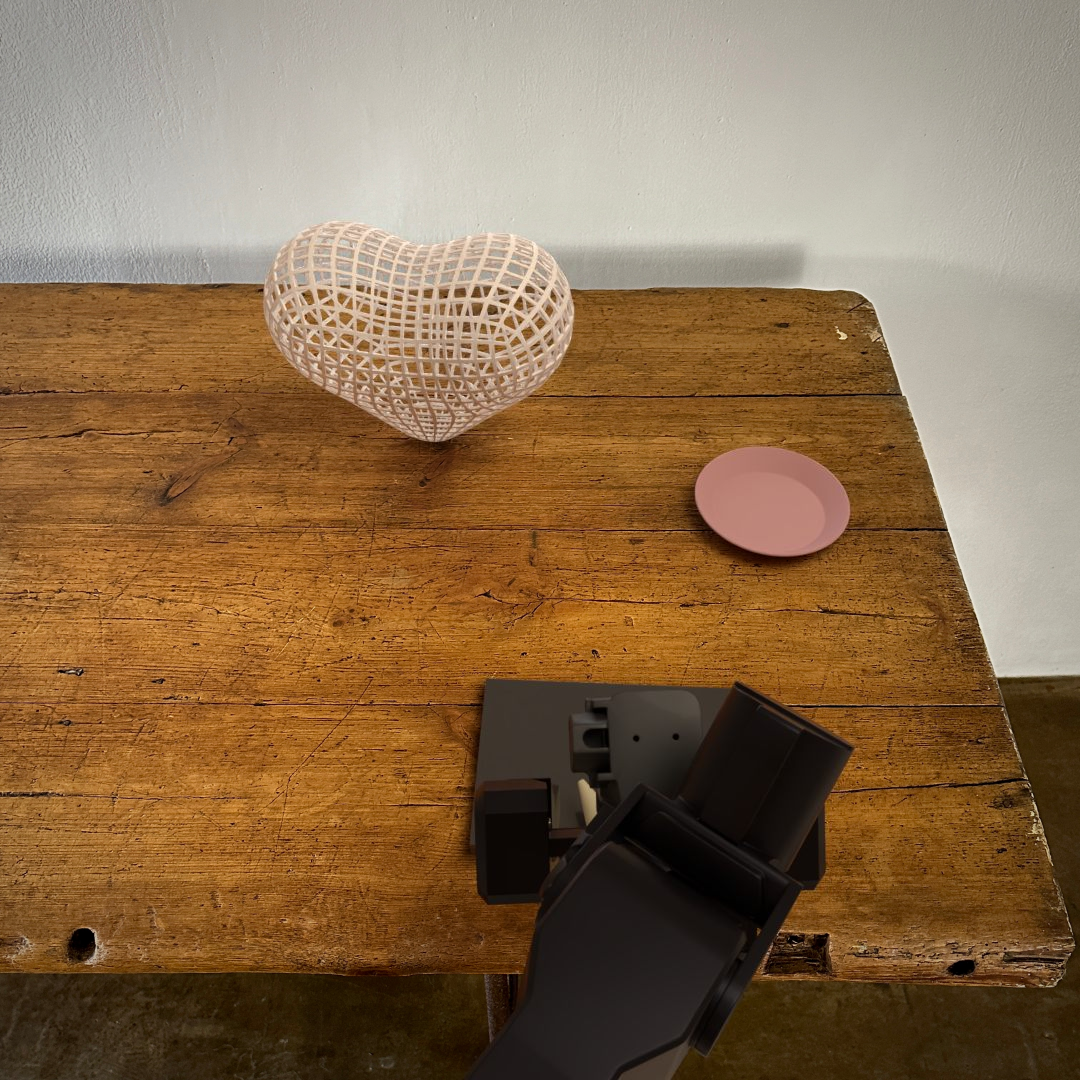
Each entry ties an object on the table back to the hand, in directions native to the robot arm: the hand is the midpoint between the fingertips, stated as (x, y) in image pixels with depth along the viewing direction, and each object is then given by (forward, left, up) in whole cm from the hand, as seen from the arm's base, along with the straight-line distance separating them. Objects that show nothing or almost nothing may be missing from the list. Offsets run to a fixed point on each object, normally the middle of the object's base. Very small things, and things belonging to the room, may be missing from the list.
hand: (628, 789), depth 61 cm
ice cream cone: (+4, +3, -6) cm, 8 cm away
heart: (+44, +18, -11) cm, 49 cm away
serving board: (+7, 0, -10) cm, 13 cm away
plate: (+35, -15, -11) cm, 39 cm away
